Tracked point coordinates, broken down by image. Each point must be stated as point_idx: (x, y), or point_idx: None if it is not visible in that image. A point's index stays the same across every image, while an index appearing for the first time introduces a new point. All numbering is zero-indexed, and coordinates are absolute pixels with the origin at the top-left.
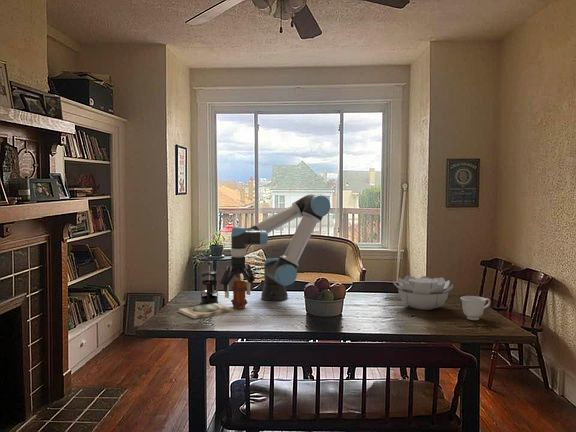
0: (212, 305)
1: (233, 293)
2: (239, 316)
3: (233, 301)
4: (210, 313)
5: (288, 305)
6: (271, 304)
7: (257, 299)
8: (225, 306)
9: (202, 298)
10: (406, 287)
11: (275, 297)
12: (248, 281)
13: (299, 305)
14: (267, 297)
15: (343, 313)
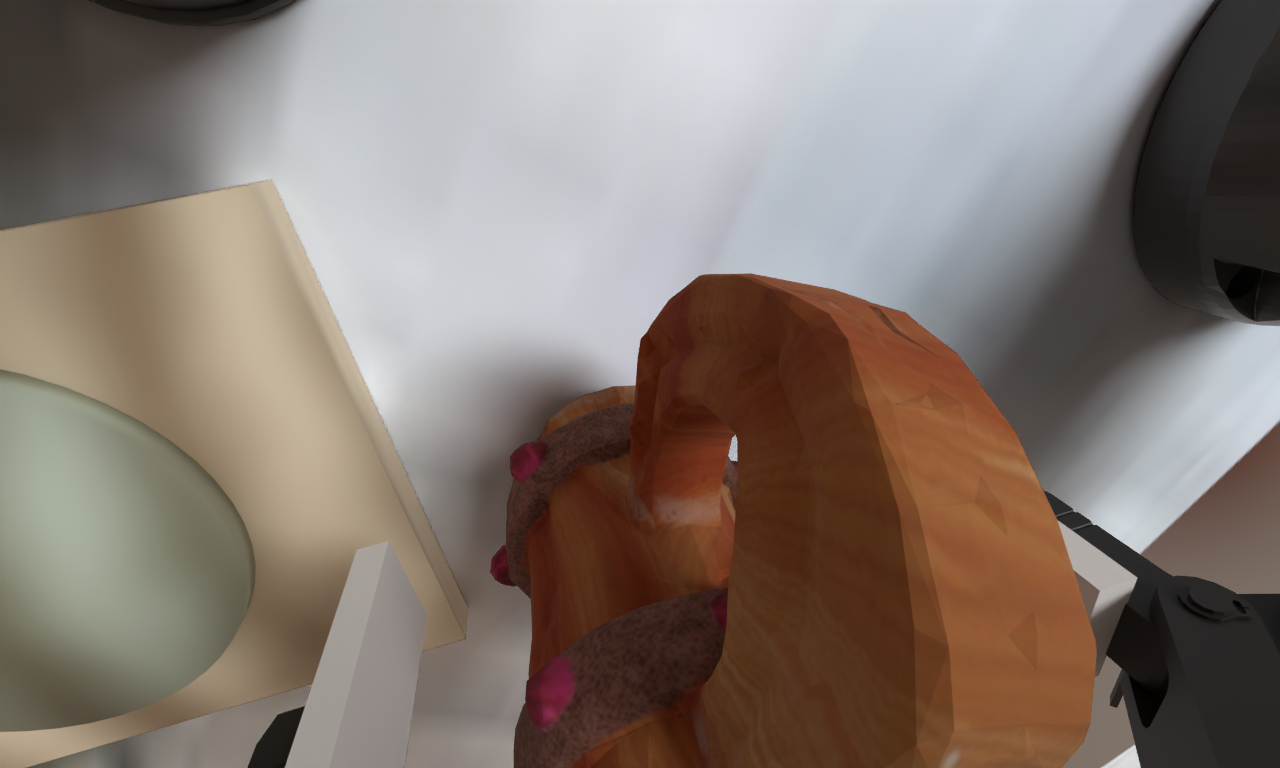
0: (124, 482)
1: (531, 664)
2: (477, 748)
3: (516, 573)
4: (100, 741)
5: (1086, 516)
6: (1013, 427)
7: (1117, 53)
8: (391, 497)
9: None
10: None
11: (1221, 314)
12: (1151, 636)
13: (1141, 542)
14: (1181, 237)
15: (1116, 759)
